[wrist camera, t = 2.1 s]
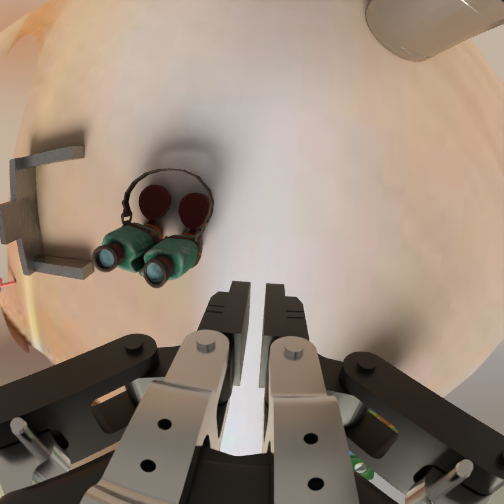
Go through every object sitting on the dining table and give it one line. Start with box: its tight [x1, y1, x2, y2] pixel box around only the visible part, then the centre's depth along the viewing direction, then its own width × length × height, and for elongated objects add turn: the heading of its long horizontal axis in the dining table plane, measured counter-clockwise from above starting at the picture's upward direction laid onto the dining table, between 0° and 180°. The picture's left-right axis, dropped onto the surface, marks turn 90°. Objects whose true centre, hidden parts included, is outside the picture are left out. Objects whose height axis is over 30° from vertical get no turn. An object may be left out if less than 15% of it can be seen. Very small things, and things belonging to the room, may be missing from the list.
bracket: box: [0, 146, 94, 280], centre depth 25 cm, size 16×12×7 cm
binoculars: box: [92, 168, 214, 288], centre depth 23 cm, size 9×11×10 cm
